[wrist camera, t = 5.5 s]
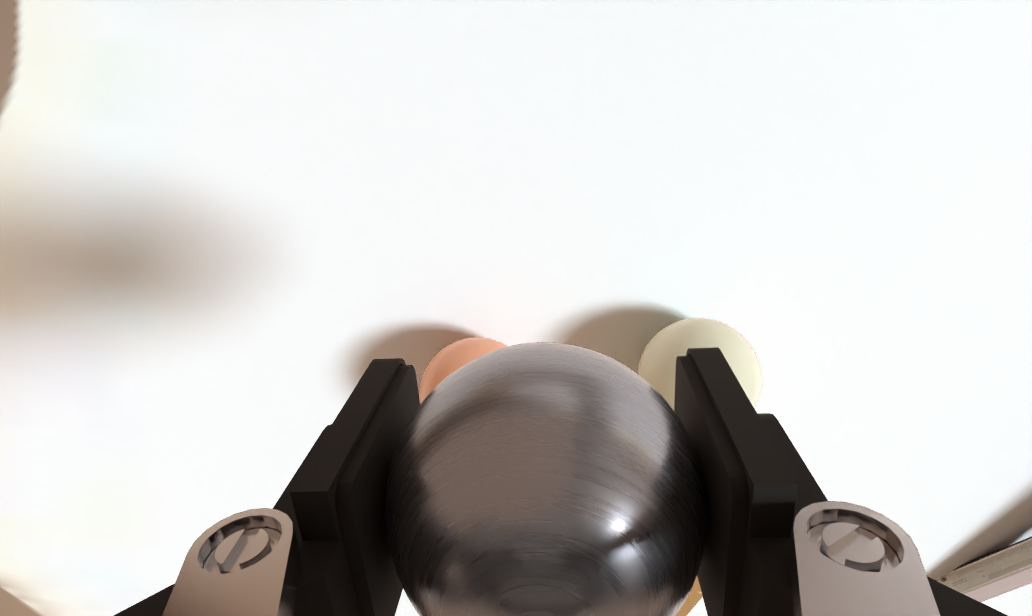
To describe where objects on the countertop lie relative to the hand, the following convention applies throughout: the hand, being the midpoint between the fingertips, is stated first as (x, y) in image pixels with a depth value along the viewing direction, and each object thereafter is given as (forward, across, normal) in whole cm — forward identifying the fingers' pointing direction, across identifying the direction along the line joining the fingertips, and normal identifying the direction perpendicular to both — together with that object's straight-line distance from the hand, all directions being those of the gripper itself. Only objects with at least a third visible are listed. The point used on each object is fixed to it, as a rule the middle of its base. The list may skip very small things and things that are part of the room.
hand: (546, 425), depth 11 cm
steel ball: (-2, 0, 0) cm, 2 cm away
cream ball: (+13, -6, +6) cm, 15 cm away
